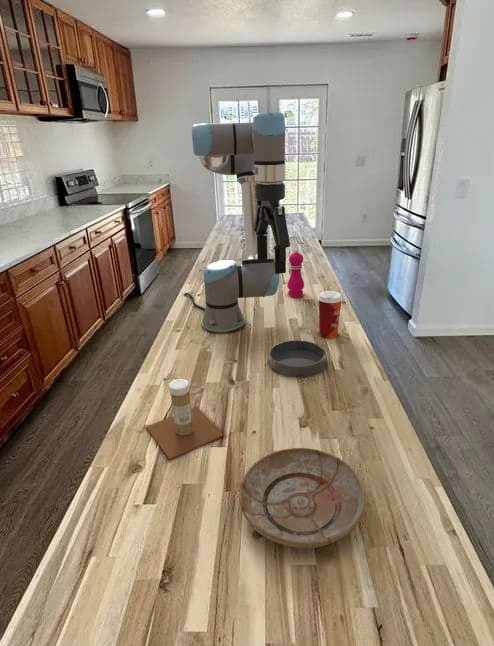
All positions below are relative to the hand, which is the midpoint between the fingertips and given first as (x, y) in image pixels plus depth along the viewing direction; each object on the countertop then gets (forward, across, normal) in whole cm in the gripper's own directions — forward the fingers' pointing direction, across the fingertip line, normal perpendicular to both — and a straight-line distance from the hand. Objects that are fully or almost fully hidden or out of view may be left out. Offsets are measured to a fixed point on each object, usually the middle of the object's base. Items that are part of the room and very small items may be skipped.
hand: (270, 265), depth 116 cm
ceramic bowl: (+33, +50, -13) cm, 61 cm away
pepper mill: (+33, -56, +32) cm, 72 cm away
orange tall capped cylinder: (+33, -16, +27) cm, 45 cm away
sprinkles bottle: (+32, +19, -30) cm, 48 cm away
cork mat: (+33, +19, -30) cm, 48 cm away
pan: (+33, -2, +9) cm, 34 cm away
